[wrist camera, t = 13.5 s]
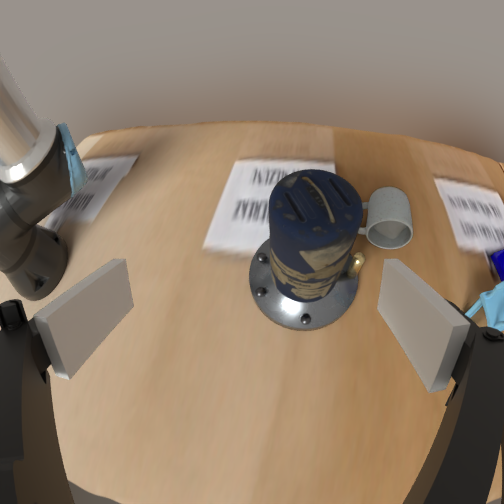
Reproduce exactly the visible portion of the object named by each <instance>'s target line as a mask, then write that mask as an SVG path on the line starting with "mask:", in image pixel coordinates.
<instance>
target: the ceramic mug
mask: <svg viewBox="0 0 504 504" xmlns="http://www.w3.org/2000/svg"><path fill="white" fill-rule="evenodd" d="M362 206H363V210H364V209H368V216H367V225H366V227H365V228H361V227H360V228H359V231H358V233H357V234H362V235H366V237H367V239H368V241H369V242H370V243H372V244H373V245H375V246H377V247H380V248H384V249H396V248H401V247H403V246H405V245H406V244H408V243H409V242H410V240H411V239H412V237H413V226H412V218H411V211H410V204H409V200H408V198H407V196H406V194H405V193H404V192H403V191H402V190H401V189H399V188H396V187H393V186H384V187H381V188H378V189H377V190H375V191H374V192H373V193H372V195H371V197H370V200H369V202H364V203H362Z"/></svg>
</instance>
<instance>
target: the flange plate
mask: <svg viewBox="0 0 504 504" xmlns="http://www.w3.org/2000/svg"><path fill="white" fill-rule="evenodd" d="M364 261H365V256H364V254H362V253H360V252H358V253H356V254H355V255H354V257H352V256H351V254H350V253H349V256H348V258H347V261H346V263H345V264H344V266H343V269H342V271H341V273H340V275H339V278H338V280H337V282H336V284H335V286H334V288H333V289H332V291H331V292H330V293H329V294H328V295H327V296H325V297H324V298H322V299H320V300H318V301H315V302H310V303H302V302H296V301H293V300H291V299H289V298H287V297H285V296H284V295H283V294H282V293H281V292H280V291H279V290H278V289H277V288H276V286H275V284H274V282H273V279H272V275H271V263H270V238H269V239H268V240H267V241H265V242H264V243H263V244H262V245H261V246H260V248H259V249H258V250H257V252H256V253H255V255H254V257H253V260H252V262H251V266H250V271H249V282H250V288H251V292H252V296H253V298H254V300H255V303H256V304H257V306H258V307H259V309H260V310H261V311H262V312H263V314H264V315H265V316H266V317H268V318H269V319H270V320H271V321H273V322H274V323H276V324H278V325H280V326H282V327H285V328H288V329H292V330H297V331H311V330H316V329H321V328H323V327H326V326H328V325H330V324H332V323H334V322H335V321H336V320H338V319H339V318H340V317H341V316H342V315H343V314H344V313H345V312H346V310H347V309H348V308H349V306H350V305H351V303H352V301H353V300H354V297H355V295H356V291H357V287H358V272H359V270H360V268H361V267H362V265H363V263H364Z"/></svg>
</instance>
